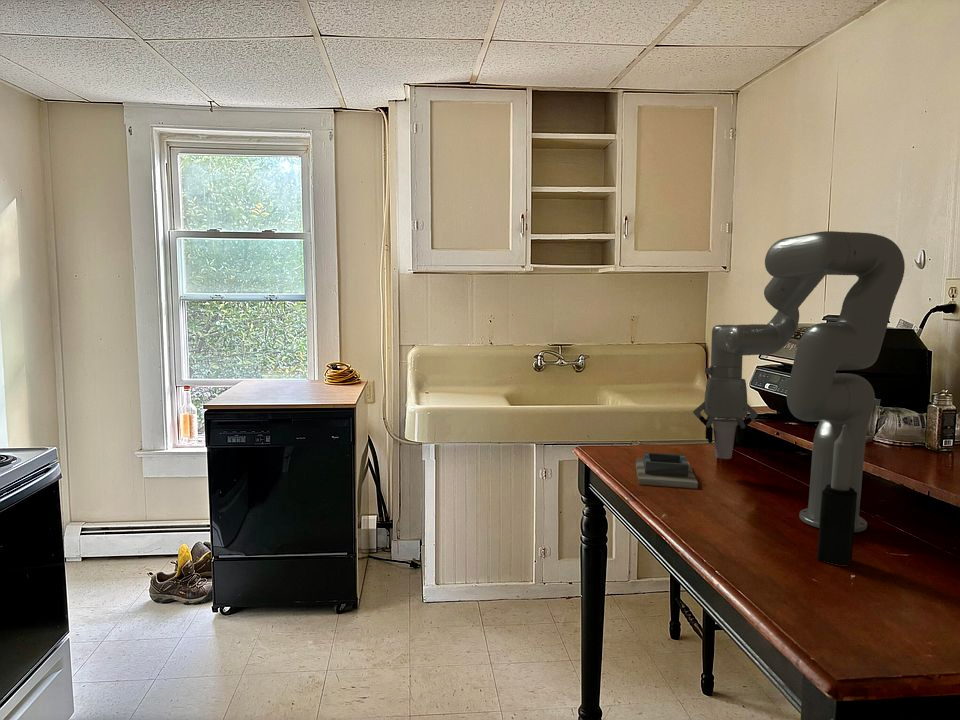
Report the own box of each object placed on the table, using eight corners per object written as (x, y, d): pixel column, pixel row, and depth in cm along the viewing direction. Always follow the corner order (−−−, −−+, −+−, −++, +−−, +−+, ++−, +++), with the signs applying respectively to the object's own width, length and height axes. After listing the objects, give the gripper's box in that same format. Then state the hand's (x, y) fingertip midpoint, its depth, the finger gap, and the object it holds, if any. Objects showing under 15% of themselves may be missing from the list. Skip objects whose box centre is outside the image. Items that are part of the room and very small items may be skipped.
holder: (697, 488, 164) (698, 470, 163) (638, 484, 166) (639, 466, 166) (688, 467, 183) (688, 450, 183) (635, 463, 186) (636, 447, 185)
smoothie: (740, 460, 170) (742, 405, 169) (715, 459, 170) (717, 405, 169) (731, 454, 176) (733, 401, 175) (707, 454, 176) (708, 401, 175)
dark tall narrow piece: (822, 552, 126) (832, 420, 123) (852, 559, 122) (864, 424, 119) (815, 560, 122) (826, 424, 119) (846, 568, 118) (858, 428, 116)
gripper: (692, 373, 170) (690, 444, 171) (765, 375, 166) (763, 446, 168) (689, 371, 177) (687, 438, 178) (758, 372, 174) (756, 441, 175)
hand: (724, 442), depth 173 cm, fingers closed on smoothie, 6 cm apart
